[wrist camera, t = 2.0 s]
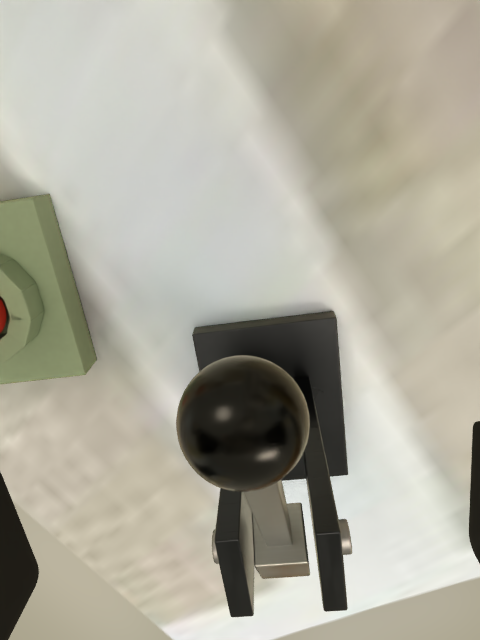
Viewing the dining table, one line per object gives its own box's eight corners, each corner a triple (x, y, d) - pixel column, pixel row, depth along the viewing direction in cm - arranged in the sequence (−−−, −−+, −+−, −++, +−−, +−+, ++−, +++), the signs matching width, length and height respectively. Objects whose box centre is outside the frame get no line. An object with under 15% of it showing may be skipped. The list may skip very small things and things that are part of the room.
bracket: (194, 327, 30) (144, 468, 17) (333, 310, 29) (391, 446, 16) (223, 474, 34) (200, 677, 21) (345, 463, 33) (398, 667, 20)
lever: (165, 337, 11) (154, 468, 9) (298, 321, 11) (317, 453, 9) (248, 515, 23) (251, 590, 21) (312, 510, 22) (322, 585, 20)
